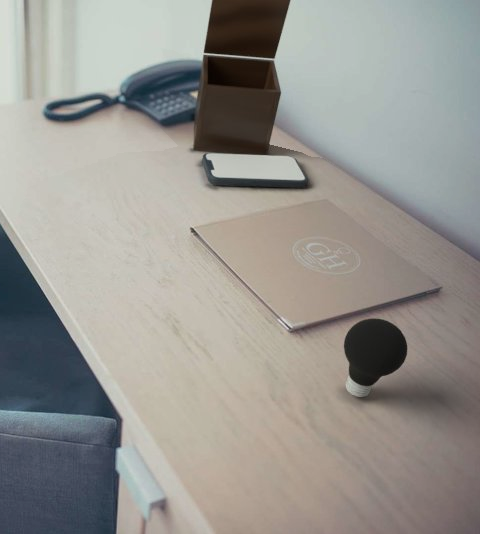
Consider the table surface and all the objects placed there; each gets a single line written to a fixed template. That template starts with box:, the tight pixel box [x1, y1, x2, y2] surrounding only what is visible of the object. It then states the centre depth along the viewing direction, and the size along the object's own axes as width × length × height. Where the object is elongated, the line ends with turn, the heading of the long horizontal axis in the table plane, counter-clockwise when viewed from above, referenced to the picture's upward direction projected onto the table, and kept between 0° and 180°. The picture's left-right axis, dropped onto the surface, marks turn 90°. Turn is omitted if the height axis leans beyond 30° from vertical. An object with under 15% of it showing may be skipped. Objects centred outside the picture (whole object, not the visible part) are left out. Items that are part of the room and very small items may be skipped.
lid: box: [203, 0, 291, 60], centre depth 112 cm, size 15×13×9 cm
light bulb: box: [343, 318, 408, 398], centre depth 66 cm, size 6×6×10 cm
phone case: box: [201, 152, 308, 189], centre depth 106 cm, size 9×2×16 cm
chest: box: [192, 54, 282, 155], centre depth 114 cm, size 15×13×12 cm
